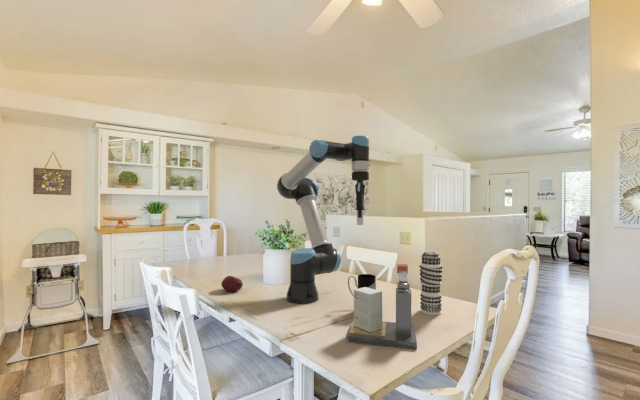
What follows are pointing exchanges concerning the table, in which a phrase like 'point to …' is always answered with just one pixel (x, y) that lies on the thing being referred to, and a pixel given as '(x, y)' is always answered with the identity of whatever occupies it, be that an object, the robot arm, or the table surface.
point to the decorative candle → (430, 283)
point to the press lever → (402, 277)
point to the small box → (368, 309)
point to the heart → (231, 284)
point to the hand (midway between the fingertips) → (360, 224)
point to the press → (390, 327)
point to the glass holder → (364, 281)
